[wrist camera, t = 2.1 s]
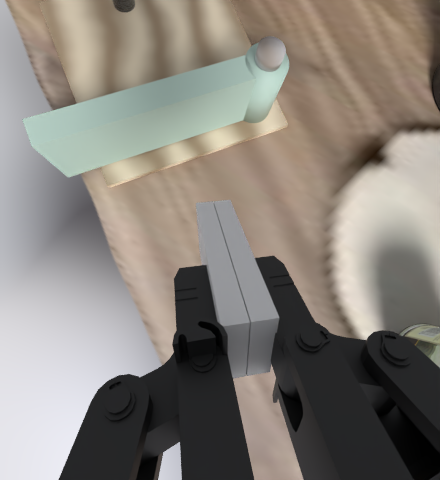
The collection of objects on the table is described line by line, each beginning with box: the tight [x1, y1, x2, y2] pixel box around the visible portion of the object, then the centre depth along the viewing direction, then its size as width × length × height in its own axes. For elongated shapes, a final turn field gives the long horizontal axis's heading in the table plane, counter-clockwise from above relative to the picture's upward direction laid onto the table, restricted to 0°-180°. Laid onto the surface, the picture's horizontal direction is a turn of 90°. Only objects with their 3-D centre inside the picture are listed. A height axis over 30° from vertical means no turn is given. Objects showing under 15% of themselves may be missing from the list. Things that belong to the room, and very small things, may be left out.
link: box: [23, 43, 289, 177], centre depth 33 cm, size 28×5×8 cm, turn 112°
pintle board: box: [39, 0, 288, 188], centre depth 34 cm, size 26×28×11 cm
